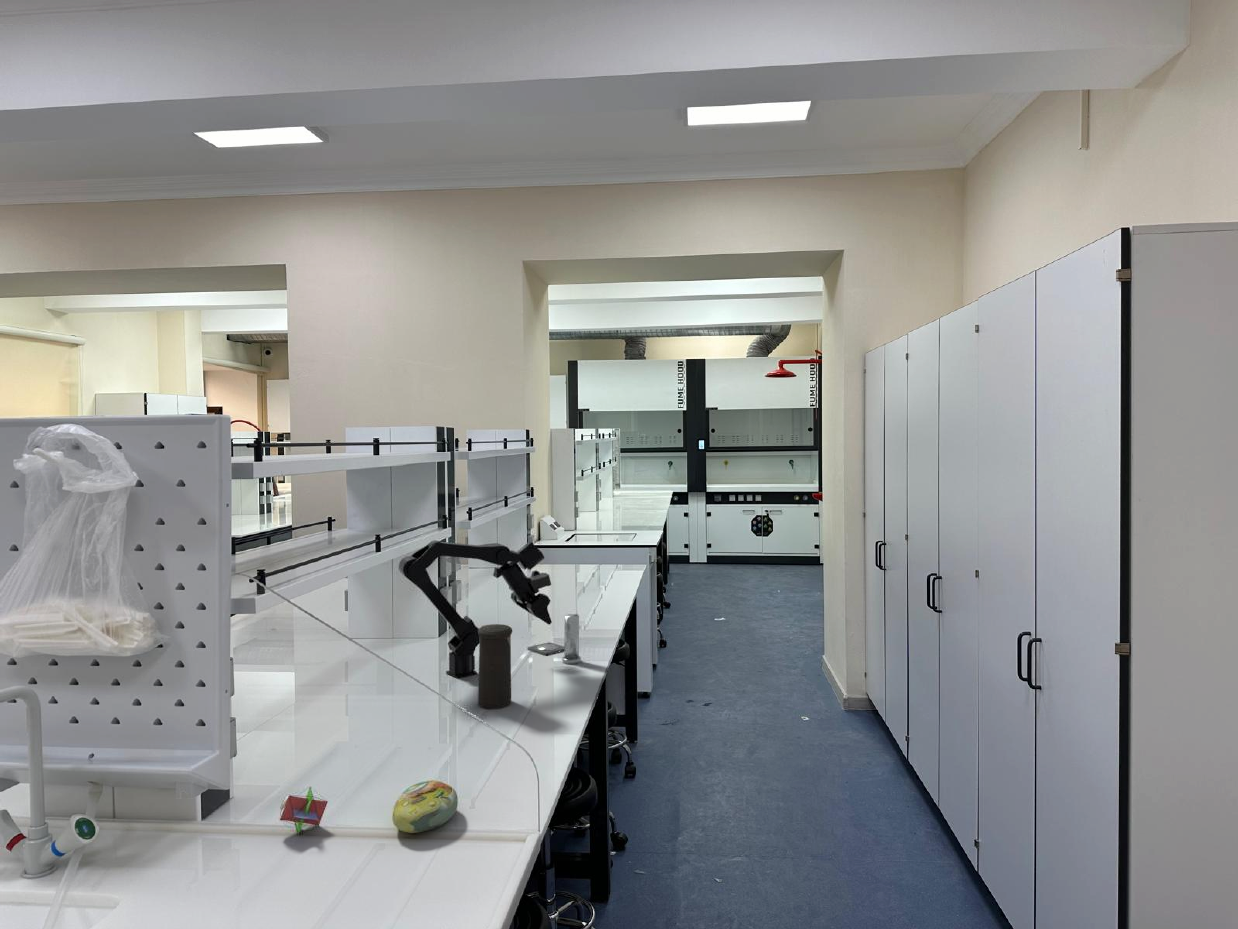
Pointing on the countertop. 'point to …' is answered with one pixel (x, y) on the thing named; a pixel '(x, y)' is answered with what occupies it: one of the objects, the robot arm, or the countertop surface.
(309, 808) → the geometric puzzle
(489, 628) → the container
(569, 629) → the sleeve
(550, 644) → the base plate
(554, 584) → the countertop surface
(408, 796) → the cell model
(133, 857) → the countertop surface
